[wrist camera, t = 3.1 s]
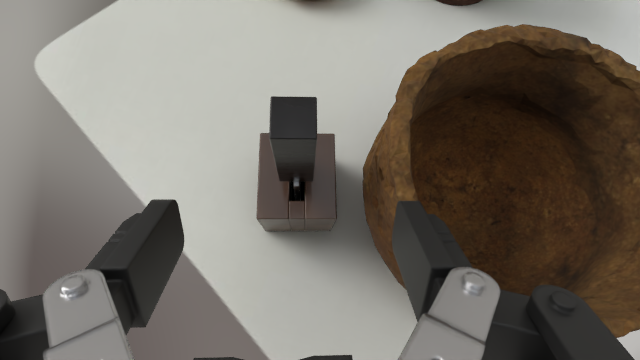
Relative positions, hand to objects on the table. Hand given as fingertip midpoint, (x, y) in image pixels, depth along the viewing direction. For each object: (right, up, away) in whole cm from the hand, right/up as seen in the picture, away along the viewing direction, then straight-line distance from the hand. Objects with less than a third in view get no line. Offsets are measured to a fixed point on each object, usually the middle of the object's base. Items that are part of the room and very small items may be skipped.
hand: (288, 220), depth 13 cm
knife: (-1, 0, +20) cm, 20 cm away
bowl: (+13, -2, +20) cm, 24 cm away
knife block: (-1, 0, +20) cm, 20 cm away
